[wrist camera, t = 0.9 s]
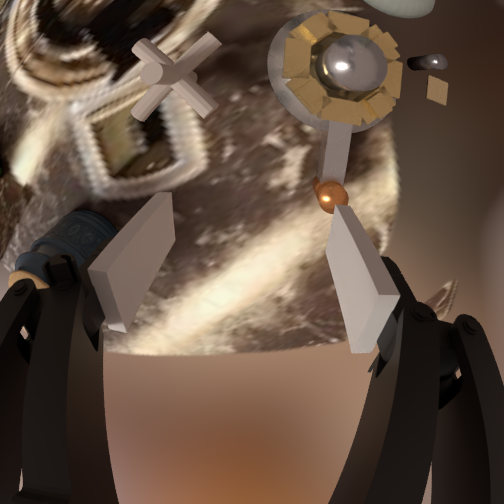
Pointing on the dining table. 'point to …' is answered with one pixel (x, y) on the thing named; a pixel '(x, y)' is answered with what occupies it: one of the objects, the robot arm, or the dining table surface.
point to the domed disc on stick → (333, 109)
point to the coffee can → (3, 5)
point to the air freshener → (403, 7)
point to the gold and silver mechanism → (345, 70)
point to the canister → (63, 244)
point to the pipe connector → (173, 76)
